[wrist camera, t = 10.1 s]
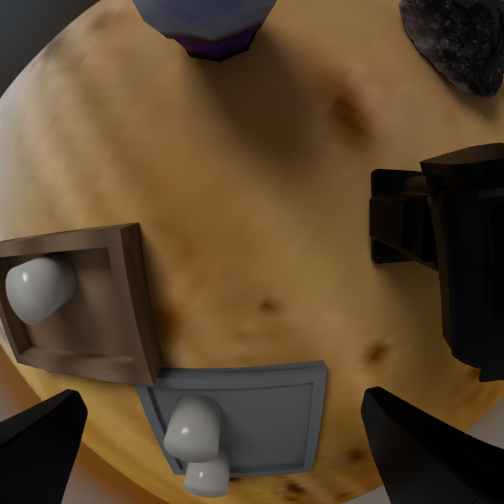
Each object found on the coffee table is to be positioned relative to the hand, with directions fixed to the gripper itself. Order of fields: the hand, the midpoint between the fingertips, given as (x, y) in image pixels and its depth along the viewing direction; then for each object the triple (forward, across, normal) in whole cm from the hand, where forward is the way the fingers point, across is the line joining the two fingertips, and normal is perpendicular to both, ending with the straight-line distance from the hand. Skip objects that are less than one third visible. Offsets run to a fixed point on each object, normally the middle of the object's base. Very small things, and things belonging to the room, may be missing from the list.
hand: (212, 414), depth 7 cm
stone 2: (+11, +4, +11) cm, 16 cm away
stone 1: (+11, +14, -1) cm, 18 cm away
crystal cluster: (+12, -21, -22) cm, 33 cm away
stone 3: (+11, +4, +18) cm, 21 cm away
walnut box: (+12, +14, +1) cm, 18 cm away
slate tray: (+12, +1, +14) cm, 19 cm away
